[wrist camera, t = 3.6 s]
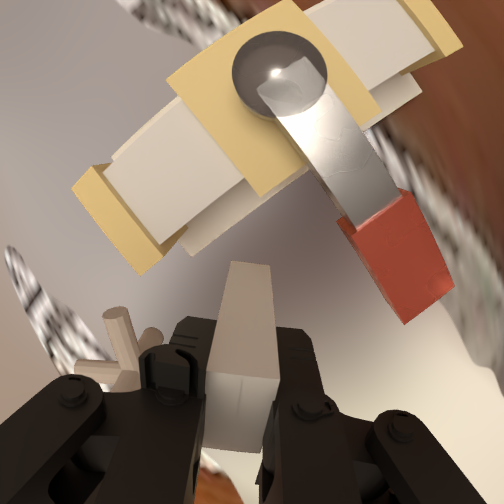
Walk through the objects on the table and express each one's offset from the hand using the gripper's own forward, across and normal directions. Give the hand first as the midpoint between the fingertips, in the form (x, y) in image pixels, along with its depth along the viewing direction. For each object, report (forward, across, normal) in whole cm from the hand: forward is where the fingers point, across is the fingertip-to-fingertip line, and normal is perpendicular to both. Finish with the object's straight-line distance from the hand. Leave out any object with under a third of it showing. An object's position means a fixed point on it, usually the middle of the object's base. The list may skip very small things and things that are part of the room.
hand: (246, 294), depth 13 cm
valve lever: (+1, +3, +5) cm, 6 cm away
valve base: (+10, 0, +8) cm, 13 cm away
